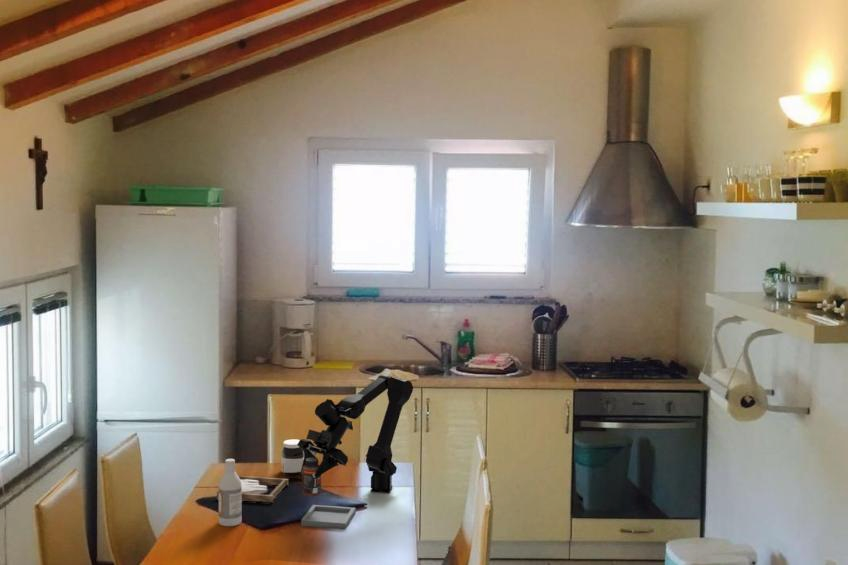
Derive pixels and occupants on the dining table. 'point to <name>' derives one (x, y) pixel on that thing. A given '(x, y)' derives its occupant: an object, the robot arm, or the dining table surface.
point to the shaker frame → (263, 481)
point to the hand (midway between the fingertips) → (308, 474)
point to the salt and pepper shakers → (252, 487)
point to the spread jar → (292, 458)
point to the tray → (328, 516)
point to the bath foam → (230, 496)
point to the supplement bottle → (311, 478)
